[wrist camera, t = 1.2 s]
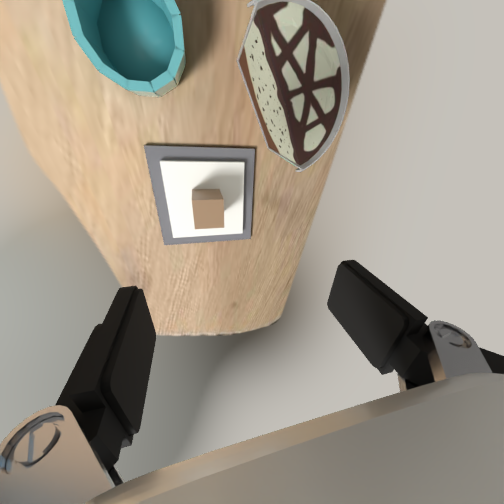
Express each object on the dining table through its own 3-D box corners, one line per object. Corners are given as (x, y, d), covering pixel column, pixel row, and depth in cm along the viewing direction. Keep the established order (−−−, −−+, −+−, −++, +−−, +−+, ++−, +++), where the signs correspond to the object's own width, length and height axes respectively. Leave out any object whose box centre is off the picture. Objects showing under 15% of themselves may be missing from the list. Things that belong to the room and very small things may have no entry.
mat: (144, 145, 23) (143, 145, 23) (254, 148, 26) (254, 148, 26) (164, 243, 30) (164, 245, 30) (249, 237, 33) (250, 238, 33)
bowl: (75, -31, 16) (39, -78, 12) (179, -11, 18) (175, -47, 14) (107, 93, 20) (88, 86, 17) (189, 100, 22) (188, 95, 18)
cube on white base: (160, 160, 24) (153, 168, 20) (243, 161, 26) (252, 169, 22) (173, 235, 29) (170, 254, 25) (241, 231, 32) (249, 248, 27)
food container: (312, 138, 27) (363, 144, 19) (271, 160, 28) (304, 175, 19) (283, 10, 20) (344, -65, 12) (229, 41, 21) (253, -12, 12)
